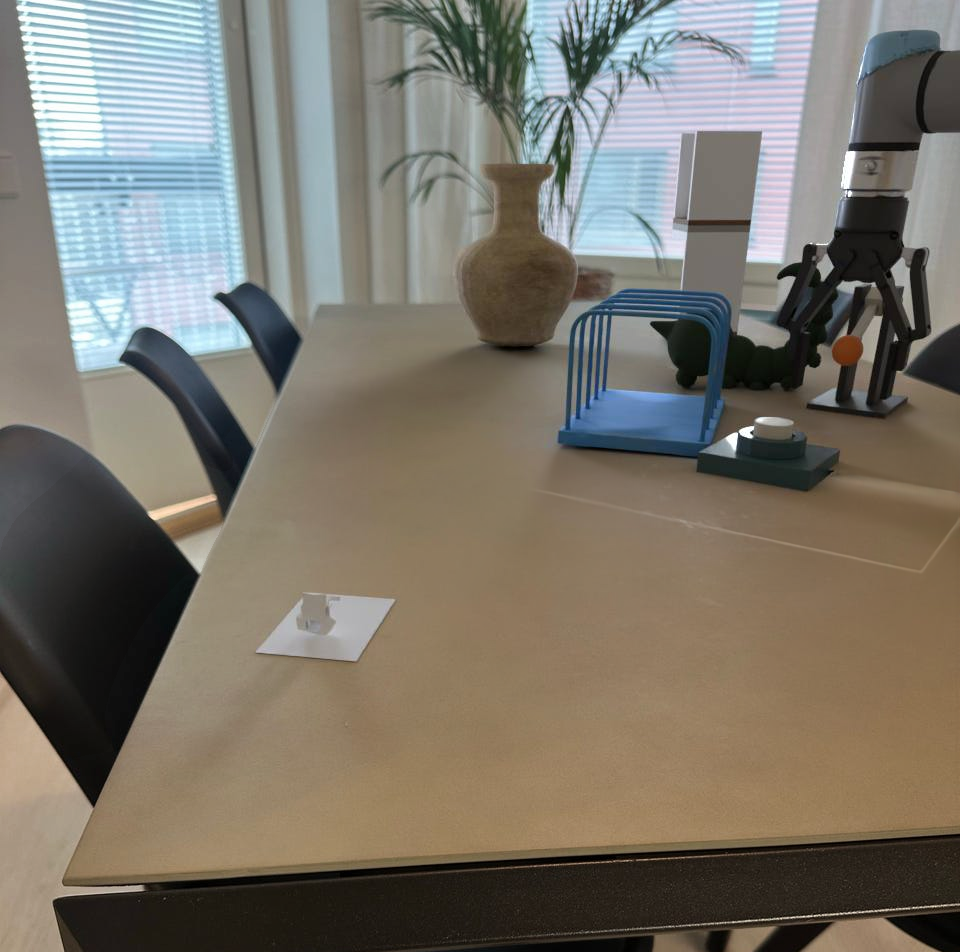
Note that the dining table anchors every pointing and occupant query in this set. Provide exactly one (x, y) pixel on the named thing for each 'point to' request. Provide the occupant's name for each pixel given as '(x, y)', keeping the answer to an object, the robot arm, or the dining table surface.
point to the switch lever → (858, 331)
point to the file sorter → (646, 414)
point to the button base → (769, 460)
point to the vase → (515, 264)
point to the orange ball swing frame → (844, 395)
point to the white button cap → (773, 428)
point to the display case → (716, 211)
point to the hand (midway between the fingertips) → (839, 392)
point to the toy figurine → (742, 347)
